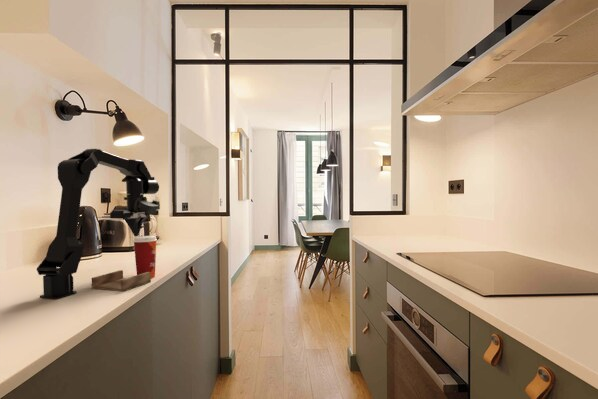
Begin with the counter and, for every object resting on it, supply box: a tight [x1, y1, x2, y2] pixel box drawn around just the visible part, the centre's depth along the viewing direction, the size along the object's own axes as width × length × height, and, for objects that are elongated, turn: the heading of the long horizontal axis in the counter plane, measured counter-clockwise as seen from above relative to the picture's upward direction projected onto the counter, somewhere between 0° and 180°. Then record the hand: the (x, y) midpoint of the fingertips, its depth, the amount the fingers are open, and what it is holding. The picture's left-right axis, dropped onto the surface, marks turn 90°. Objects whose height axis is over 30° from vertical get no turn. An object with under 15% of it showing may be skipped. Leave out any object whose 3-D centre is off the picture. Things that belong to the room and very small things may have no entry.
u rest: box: [91, 269, 152, 292], centre depth 110 cm, size 11×12×3 cm
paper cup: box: [132, 235, 158, 279], centre depth 120 cm, size 8×8×14 cm
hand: (136, 236), depth 130 cm, fingers closed
